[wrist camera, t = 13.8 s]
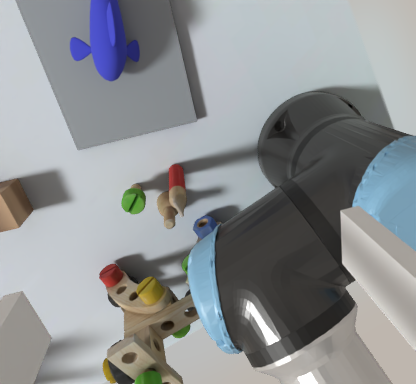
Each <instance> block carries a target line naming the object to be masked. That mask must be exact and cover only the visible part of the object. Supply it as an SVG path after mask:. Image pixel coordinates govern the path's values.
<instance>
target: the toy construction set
mask: <svg viewBox="0 0 416 384" xmlns="http://www.w3.org/2000/svg"><path fill="white" fill-rule="evenodd" d="M145 202H146V196H145V194H144V192H143V191H142V190H141V186H140V185H138V184H134V185H132V186H131V189H128V190H126V191H125V193H124V195H123V198H122V207H123V209H124V210H125V211H126V212H130V213H131V214H138V213H140V212H141V211H142V210H143V209H144V207H145ZM186 202H187V197H186V189H185V181H184V172H183V168H182V167H181V166H180V165H178V164H174V165H172V166H171V167H170V168H169V191H167V192H164V193H162V194H160V196H159V197H158V199H157V206H158V210H159V212H160V214H161V215H162V216H164V226H165V227H166V228H167V229H171V228H173V227H174V226H175V216H176V215H177V214H178V213H179V214H180V216H181V217H183V216H184V208H185V206H186ZM219 224H222V222H215V220H214V219H213V218H212V217H210V216H207V215H205V216H203V217H201V218H199V219H197V220H196V222H195V224H194V227H193V230H194V231H195V233H196V234H197V236H198V240H197V243H198V242H199V241H201V240H202V239H203V238H205V237H206V236H207V235H209V234H210V233H211V232H213V231H214V229H215V227H216V226H217V225H219ZM197 243H196V244H197ZM189 255H190V254H189ZM189 255H188V256H187V257H186V258H185V259H184V260H183V262H182V269H183V270H184V271H185V273H186V274H187V275H188V273H187V272H188V258H189ZM99 278H100V279H101V280H102V282H103V283H104V284H105V285H106V289H107V292H108V299H109V301H110V302H111V304H112V305H113V306H115V307H121V309H122V311H123V312H124V331H125V332H124V339H123V340H119V342H117V343H115V344H114V345H112V346H111V347H110V348H109V349H108V350H107V358H106V359H105V360H104V362H103V371H104V375H105V377H106V379H107V380H108V381H110V383H116V382H117V383H118V384H132V383H134V382H135V384H183V380H182V377H181V376H180V375H179V374H178V373H177V372H176V371H175V370H174V369H173V368H171V367H170V366H169V365H168V364H167V363H166V358H165V351H164V345H163V339H165V338H167V337H168V336H170V335H173V336H174V337H175V338H182V337H184V336H185V335H186V334H187V333H188V332H189V330H190V324H191V323H192V322H194V321H196V320H198V319H199V318H200V317H199V315H198V313H197V310H196V307H195V305H194V302H193V299H192V295H191V291H190V290H189V291H188V292H187V293H186V295H185V297H184V298H182V299H181V300H178V298H177V297H176V296H175V294H174V293H173V292H172V291H171V290H170V288H169V287H164V286H161V284H160V283H159V282H158V280H157V279H156V278H154V277H153V276H152V277H147V278H145V279H144V280H143V281H142V282H141V283H140V284H139V283H138V281H137V279H136V278H134V277H132V276H128V275H127V274H126V273H125V271H123V270H120V269H119V267H118V266H117V265H116V264H110V265H108V266H106V267H105V268H104V269H103V270H102V271H101V272H100V277H99ZM186 284H187V285H188V286H189V282H188V276H187V279H186ZM186 309H187V310H188V312H185V310H186Z"/></svg>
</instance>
